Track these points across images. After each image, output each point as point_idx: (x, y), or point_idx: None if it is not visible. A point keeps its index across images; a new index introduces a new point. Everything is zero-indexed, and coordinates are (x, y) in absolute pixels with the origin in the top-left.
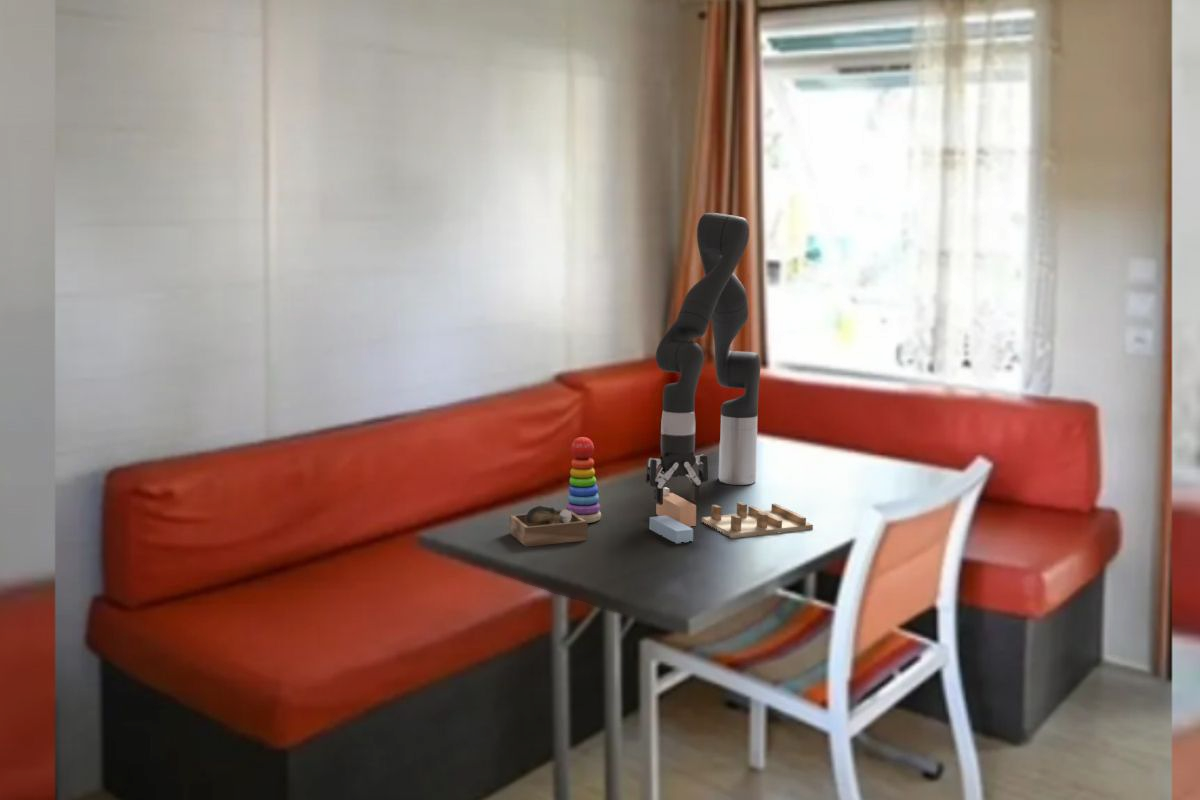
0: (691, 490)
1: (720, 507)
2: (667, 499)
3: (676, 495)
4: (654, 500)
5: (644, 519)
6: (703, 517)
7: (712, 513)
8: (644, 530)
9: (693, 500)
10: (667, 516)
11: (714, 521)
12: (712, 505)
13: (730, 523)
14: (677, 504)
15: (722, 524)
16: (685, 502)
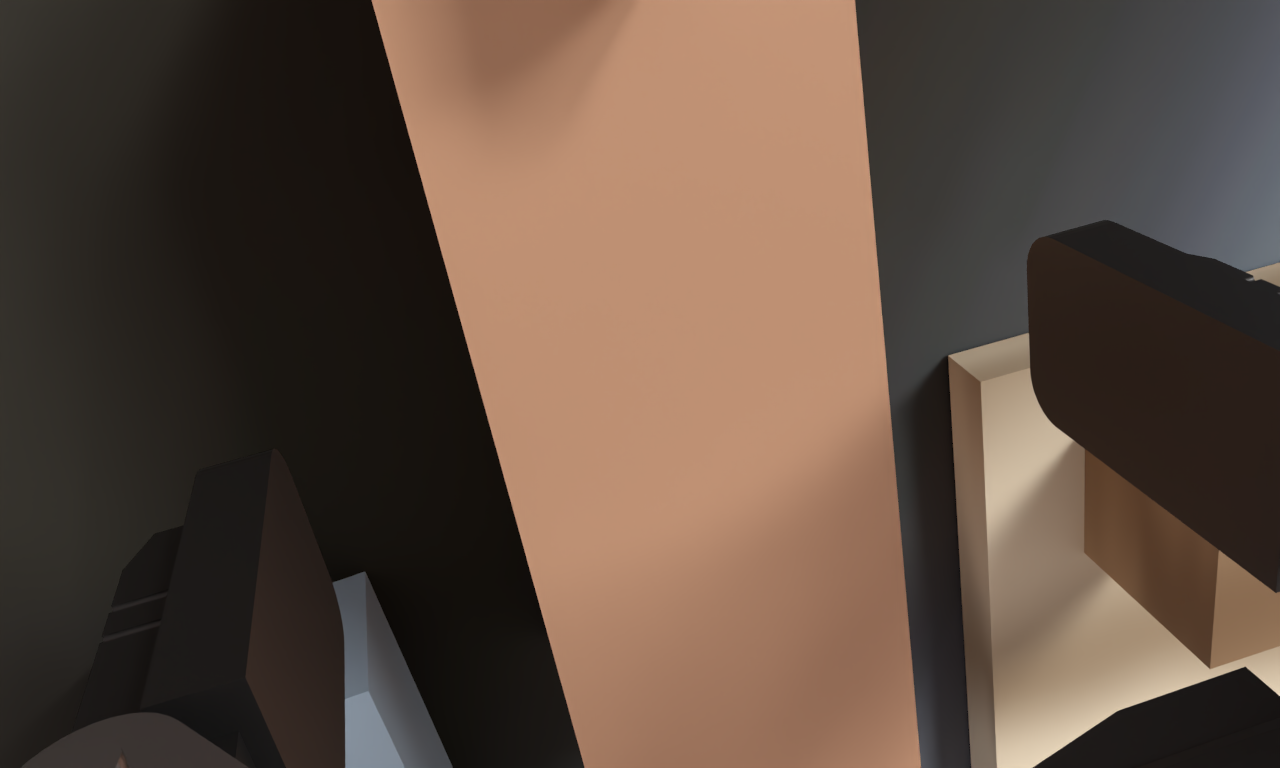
0: (1168, 350)
1: (1266, 649)
2: (510, 370)
3: (831, 9)
4: (148, 552)
5: (33, 111)
6: (1001, 384)
7: (1132, 492)
8: (9, 725)
9: (1041, 371)
10: (386, 754)
11: (1049, 576)
12: (1218, 553)
13: (1180, 655)
14: (622, 733)
15: (1076, 696)
16: (816, 602)
